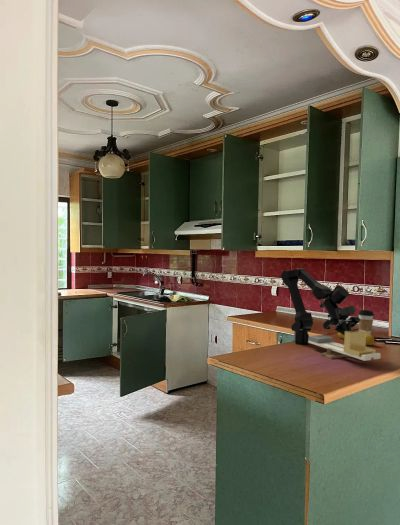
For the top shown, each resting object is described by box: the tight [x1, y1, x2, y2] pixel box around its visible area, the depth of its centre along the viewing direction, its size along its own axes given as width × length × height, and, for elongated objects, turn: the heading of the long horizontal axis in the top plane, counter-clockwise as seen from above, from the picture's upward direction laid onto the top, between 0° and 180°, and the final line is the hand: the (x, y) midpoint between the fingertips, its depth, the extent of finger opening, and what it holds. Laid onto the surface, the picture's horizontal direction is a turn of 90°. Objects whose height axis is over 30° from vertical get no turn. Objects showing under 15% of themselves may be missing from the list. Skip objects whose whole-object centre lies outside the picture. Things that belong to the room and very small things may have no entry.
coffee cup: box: [357, 309, 375, 336], centre depth 219 cm, size 8×8×15 cm
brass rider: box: [343, 329, 376, 357], centre depth 164 cm, size 8×10×10 cm
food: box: [337, 331, 375, 346], centre depth 204 cm, size 21×6×6 cm, turn 33°
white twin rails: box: [308, 334, 382, 362], centre depth 173 cm, size 32×10×3 cm, turn 28°
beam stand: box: [320, 348, 349, 360], centre depth 174 cm, size 6×16×4 cm, turn 118°
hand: (351, 339), depth 168 cm, fingers closed
